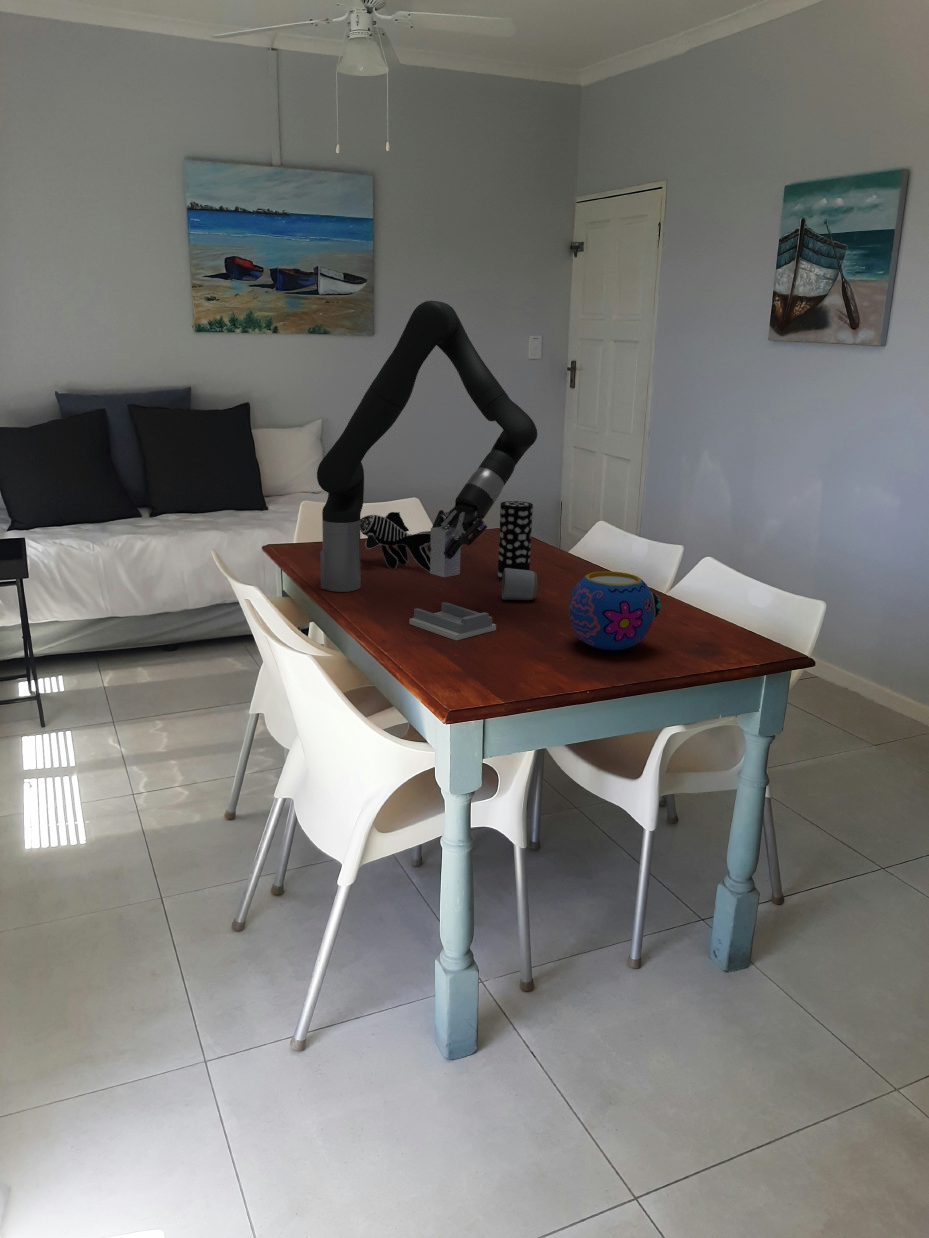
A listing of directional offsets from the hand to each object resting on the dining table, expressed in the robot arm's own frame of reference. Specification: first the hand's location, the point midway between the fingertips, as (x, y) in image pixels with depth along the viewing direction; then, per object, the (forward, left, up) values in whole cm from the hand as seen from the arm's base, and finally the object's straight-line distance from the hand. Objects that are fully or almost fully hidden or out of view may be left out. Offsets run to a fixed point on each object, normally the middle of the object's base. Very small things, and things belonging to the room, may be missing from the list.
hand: (438, 554), depth 209 cm
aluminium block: (+1, +2, -5) cm, 5 cm away
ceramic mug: (+15, +28, -16) cm, 35 cm away
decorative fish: (-19, +50, -16) cm, 56 cm away
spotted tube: (+12, +46, -16) cm, 50 cm away
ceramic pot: (+37, -6, -16) cm, 41 cm away
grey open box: (+3, 0, -16) cm, 16 cm away
